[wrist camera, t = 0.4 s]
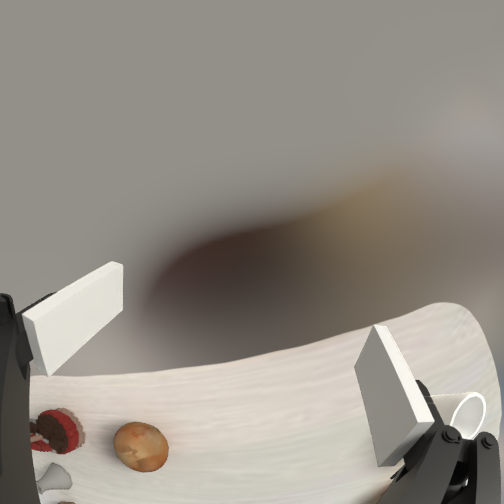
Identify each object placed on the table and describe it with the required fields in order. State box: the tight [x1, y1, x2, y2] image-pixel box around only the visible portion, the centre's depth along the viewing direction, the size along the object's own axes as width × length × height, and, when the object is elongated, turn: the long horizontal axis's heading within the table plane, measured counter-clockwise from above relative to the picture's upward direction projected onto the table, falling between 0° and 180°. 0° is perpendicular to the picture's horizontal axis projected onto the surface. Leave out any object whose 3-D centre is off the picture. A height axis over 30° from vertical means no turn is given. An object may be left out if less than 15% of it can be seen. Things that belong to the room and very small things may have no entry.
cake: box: [30, 408, 85, 454], centre depth 31 cm, size 11×9×18 cm
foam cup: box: [430, 392, 486, 439], centre depth 34 cm, size 10×9×13 cm
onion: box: [114, 422, 169, 472], centre depth 35 cm, size 10×10×10 cm
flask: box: [36, 463, 72, 494], centre depth 30 cm, size 7×7×10 cm
